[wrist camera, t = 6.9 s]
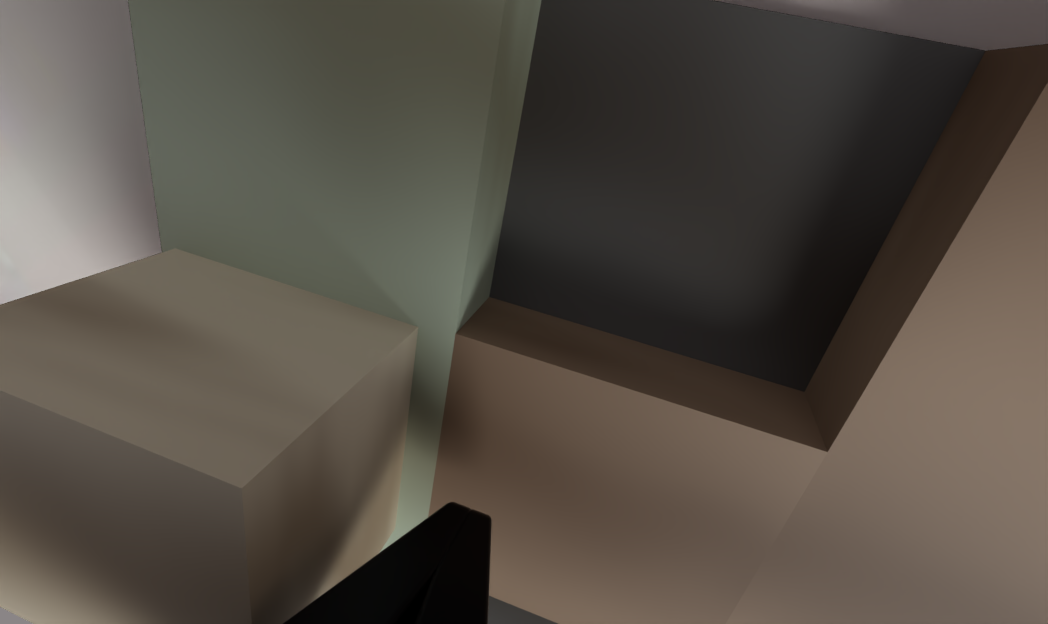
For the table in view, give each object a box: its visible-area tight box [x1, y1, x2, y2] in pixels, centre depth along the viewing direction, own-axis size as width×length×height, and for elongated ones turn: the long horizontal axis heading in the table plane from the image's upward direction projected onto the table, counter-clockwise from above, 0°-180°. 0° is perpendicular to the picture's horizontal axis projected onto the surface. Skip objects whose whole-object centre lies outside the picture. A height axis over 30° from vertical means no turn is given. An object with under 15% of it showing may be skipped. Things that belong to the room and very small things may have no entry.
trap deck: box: [128, 0, 1048, 624], centre depth 10 cm, size 17×22×2 cm
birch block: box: [0, 248, 418, 624], centre depth 9 cm, size 5×5×4 cm
